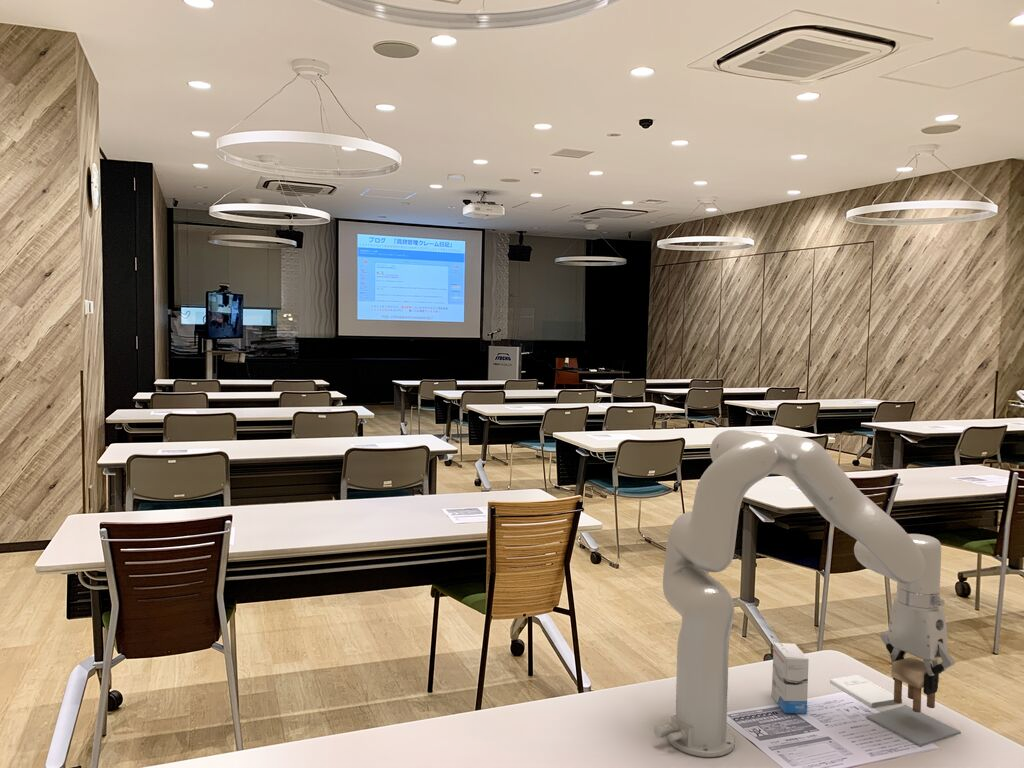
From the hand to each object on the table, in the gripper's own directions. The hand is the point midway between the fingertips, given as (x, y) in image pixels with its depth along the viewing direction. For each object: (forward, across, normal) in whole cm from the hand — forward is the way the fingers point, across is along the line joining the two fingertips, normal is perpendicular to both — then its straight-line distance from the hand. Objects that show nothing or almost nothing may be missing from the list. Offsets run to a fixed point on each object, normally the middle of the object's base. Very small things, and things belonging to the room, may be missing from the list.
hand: (914, 685), depth 151 cm
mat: (+8, 0, 0) cm, 8 cm away
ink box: (+8, +17, +16) cm, 25 cm away
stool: (+4, 0, 0) cm, 4 cm away
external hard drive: (+9, +14, -4) cm, 17 cm away
